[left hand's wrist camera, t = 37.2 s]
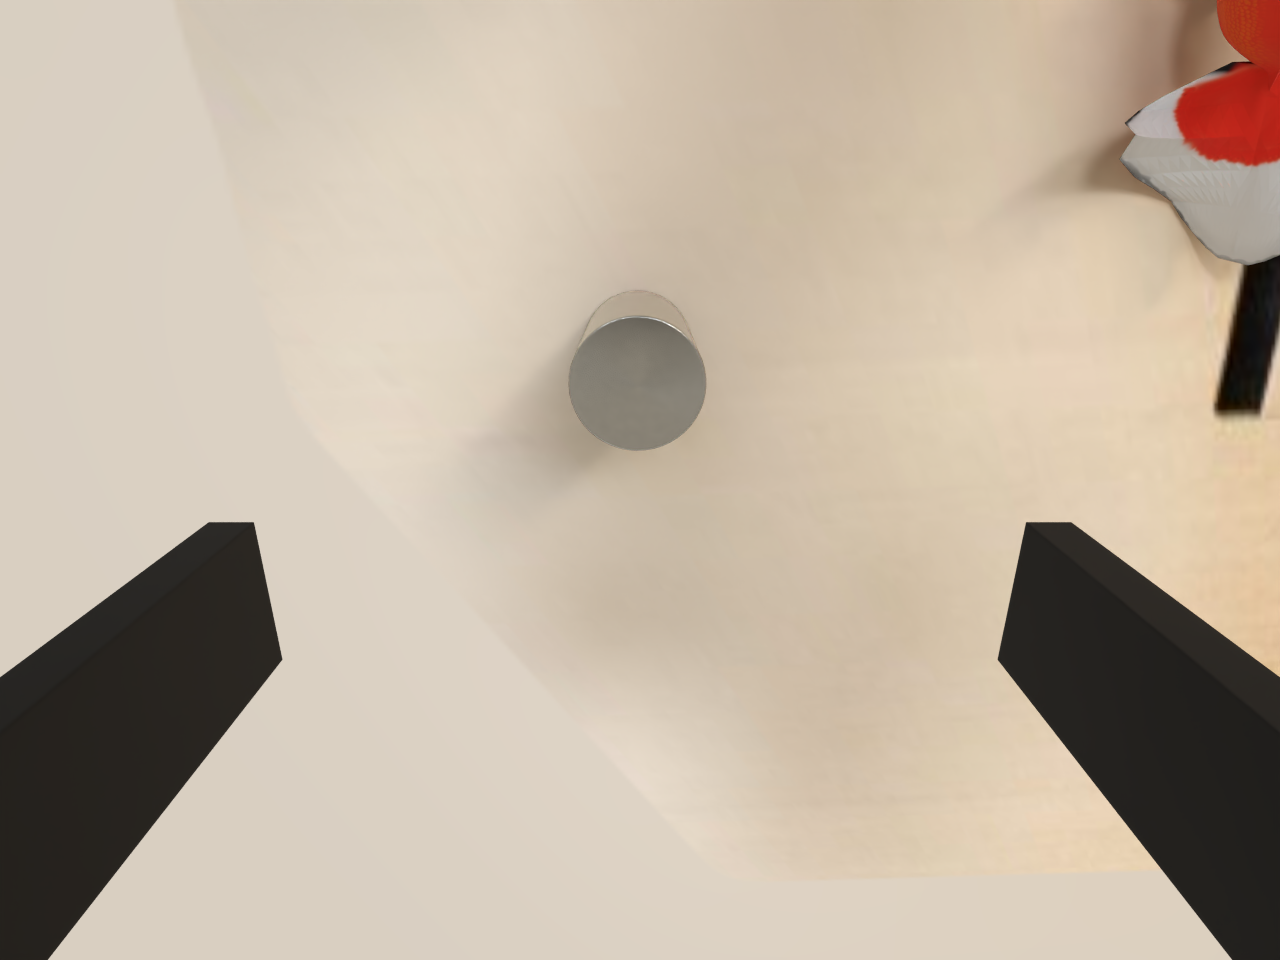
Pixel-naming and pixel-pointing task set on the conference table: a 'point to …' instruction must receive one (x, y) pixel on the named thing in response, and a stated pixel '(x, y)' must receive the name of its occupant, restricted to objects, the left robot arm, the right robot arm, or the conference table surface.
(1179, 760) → the left robot arm
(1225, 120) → the fish
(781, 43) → the conference table surface
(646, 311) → the tin
